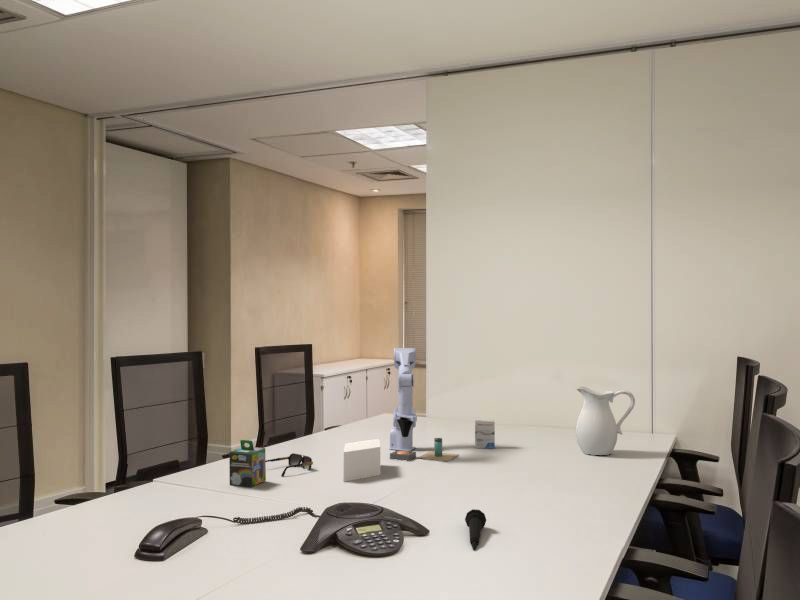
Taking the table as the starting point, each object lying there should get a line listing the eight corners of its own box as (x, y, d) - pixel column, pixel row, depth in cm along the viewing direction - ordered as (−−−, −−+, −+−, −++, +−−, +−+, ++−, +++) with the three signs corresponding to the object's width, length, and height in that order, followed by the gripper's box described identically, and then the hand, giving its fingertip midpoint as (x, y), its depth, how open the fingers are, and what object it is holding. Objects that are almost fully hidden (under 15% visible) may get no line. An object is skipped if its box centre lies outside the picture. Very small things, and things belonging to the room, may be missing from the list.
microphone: (481, 563, 166) (482, 528, 186) (488, 542, 165) (488, 509, 185) (459, 555, 167) (463, 521, 186) (467, 534, 166) (469, 502, 186)
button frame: (389, 459, 271) (389, 453, 271) (398, 455, 278) (398, 450, 278) (408, 460, 267) (408, 455, 268) (415, 457, 275) (415, 451, 275)
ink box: (494, 446, 299) (494, 420, 299) (494, 448, 294) (494, 421, 294) (474, 446, 300) (475, 419, 300) (475, 448, 295) (475, 421, 295)
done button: (394, 457, 271) (394, 452, 272) (399, 455, 276) (399, 450, 276) (406, 459, 269) (406, 453, 269) (411, 456, 274) (411, 451, 274)
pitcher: (573, 455, 281) (573, 388, 282) (578, 448, 297) (578, 385, 298) (633, 460, 272) (633, 391, 273) (635, 453, 288) (635, 387, 289)
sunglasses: (258, 471, 249) (259, 457, 249) (291, 465, 260) (292, 452, 260) (281, 477, 239) (282, 463, 239) (315, 471, 250) (315, 457, 250)
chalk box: (266, 481, 233) (266, 438, 233) (252, 487, 224) (252, 443, 224) (243, 479, 236) (243, 436, 236) (228, 485, 227) (228, 441, 227)
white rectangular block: (396, 467, 257) (396, 440, 257) (362, 484, 230) (362, 454, 231) (362, 463, 263) (362, 437, 263) (325, 479, 236) (325, 450, 236)
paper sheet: (417, 458, 273) (417, 457, 273) (429, 452, 285) (429, 451, 285) (448, 461, 267) (448, 460, 267) (458, 455, 279) (458, 454, 279)
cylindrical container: (433, 456, 275) (433, 438, 276) (435, 454, 278) (435, 437, 279) (441, 456, 274) (441, 439, 274) (443, 455, 277) (443, 438, 277)
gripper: (423, 404, 270) (423, 438, 270) (404, 400, 283) (404, 433, 282) (408, 405, 267) (408, 440, 266) (390, 401, 279) (389, 434, 279)
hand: (405, 436), depth 274 cm, fingers closed
